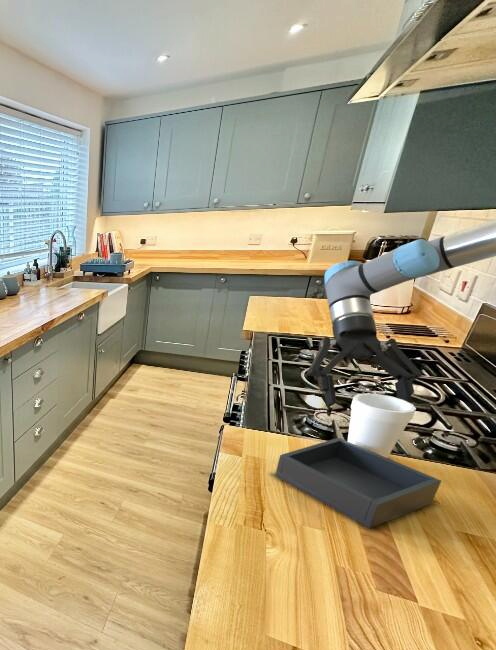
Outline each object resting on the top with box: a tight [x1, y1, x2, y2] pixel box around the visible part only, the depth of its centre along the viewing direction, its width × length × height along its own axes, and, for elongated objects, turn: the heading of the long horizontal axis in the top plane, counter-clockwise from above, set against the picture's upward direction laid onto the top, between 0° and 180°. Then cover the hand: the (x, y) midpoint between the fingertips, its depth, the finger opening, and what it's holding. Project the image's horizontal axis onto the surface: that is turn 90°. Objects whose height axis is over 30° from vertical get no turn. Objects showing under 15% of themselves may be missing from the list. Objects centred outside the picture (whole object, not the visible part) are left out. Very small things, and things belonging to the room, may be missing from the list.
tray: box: [274, 437, 442, 529], centre depth 80 cm, size 17×17×5 cm
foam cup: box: [347, 392, 417, 458], centre depth 88 cm, size 10×9×13 cm
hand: (368, 406), depth 90 cm, fingers open, 13 cm apart
